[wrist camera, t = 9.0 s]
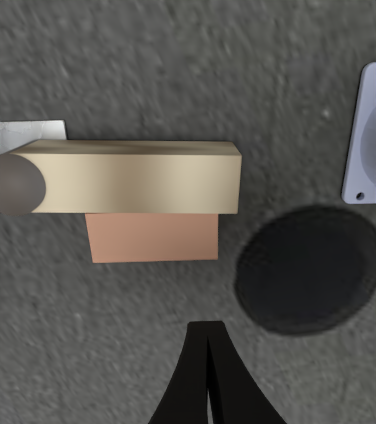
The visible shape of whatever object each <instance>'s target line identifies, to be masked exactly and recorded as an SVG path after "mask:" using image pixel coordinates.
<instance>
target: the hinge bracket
mask: <svg viewBox="0 0 376 424" xmlns="http://www.w3.org/2000/svg"><path fill="white" fill-rule="evenodd" d="M34 140H68V137H67V131H66V125H65V120H45V121H12V122H0V154H2V153H5V152H7V151H9V150H12V149H14V148H16V147H19V146H21V145H23V144H26V143H28V142H31V141H34Z"/></svg>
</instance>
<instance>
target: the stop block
mask: <svg viewBox="0 0 376 424" xmlns="http://www.w3.org/2000/svg"><path fill="white" fill-rule="evenodd" d="M85 217H86V223H87V229H88V235H89V241H90V247H91V253H92V259H93V263H105V262H141V261H176V260H211V259H218V214H200V213H85Z"/></svg>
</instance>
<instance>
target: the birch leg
mask: <svg viewBox="0 0 376 424" xmlns="http://www.w3.org/2000/svg"><path fill="white" fill-rule="evenodd" d="M241 158H242V155H241V154H240V153H239V151H238V150H237V148H236V147H235V145H234V144H233V142H212V141H106V140H34V141H31V142H28V143H26V144H23V145H21V146H19V147H16V148H14V149H12V150H9V151H7V152H5V153H2V154H0V213H3V214H5V215H10V216H23V215H26V214H29V213H31V212H59V213H200V214H237V211H238V198H239V185H240V172H241Z"/></svg>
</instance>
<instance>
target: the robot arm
mask: <svg viewBox="0 0 376 424" xmlns="http://www.w3.org/2000/svg"><path fill="white" fill-rule="evenodd" d="M358 193H361V196H360V197H359V198H356V196H357V194H358ZM342 199H343V201H345V202H346V203H347V204H369V203H376V62H372V63H369V64H367V65H366V66H365V67H364V69H363V71H362V75H361V81H360V87H359V93H358V99H357V105H356V111H355V117H354V123H353V129H352V135H351V141H350V147H349V153H348V159H347V165H346V171H345V177H344V183H343V189H342ZM208 391H209V398H210V404H211V411H212V417H213V424H287V423H286V422H285V421H284V420H283V419H282V417H281V416H280V415H279V414H278V412H277V411H276V410H275V409H274V407H273V406H272V405H271V403H270V402H269V401H268V400H267V398H266V397H265V396H264V394H263V393H262V391H261V390H260V388H259V387H258V386H257V384H256V383H255V381H254V380H253V378H252V376H251V375H250V373H249V372H248V370H247V369H246V367H245V365H244V363H243V362H242V360H241V358H240V356H239V355H238V353H237V351H236V349H235V347H234V345H233V343H232V341H231V339H230V337H229V335H228V332H227V330H226V327H225V324H224V323H223V322H222V321H195V322H189V323H188V325H187V333H186V338H185V342H184V345H183V349H182V352H181V355H180V358H179V360H178V363H177V366H176V369H175V371H174V373H173V376H172V378H171V380H170V383H169V385H168V387H167V389H166V391H165V393H164V395H163V397H162V399H161V401H160V403H159V405H158V407H157V409H156V411H155V413H154V414H153V416H152V418H151V419H150V421H149V423H148V424H208V415H207V400H208Z"/></svg>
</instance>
